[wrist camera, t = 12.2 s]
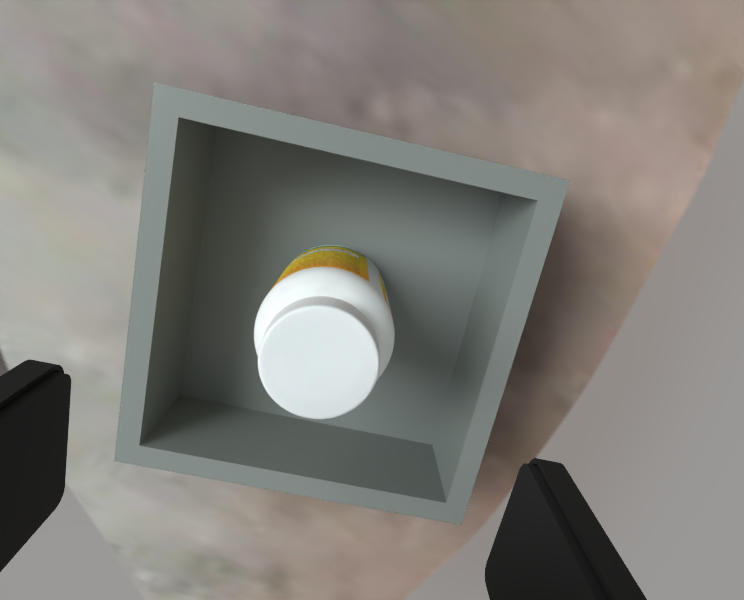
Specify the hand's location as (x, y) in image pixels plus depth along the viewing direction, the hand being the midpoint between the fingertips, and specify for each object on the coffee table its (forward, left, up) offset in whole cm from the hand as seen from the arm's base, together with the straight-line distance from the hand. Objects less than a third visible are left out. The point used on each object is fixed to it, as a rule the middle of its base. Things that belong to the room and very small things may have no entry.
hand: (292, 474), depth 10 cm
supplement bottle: (0, 0, -16) cm, 16 cm away
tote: (+1, 0, -17) cm, 17 cm away
